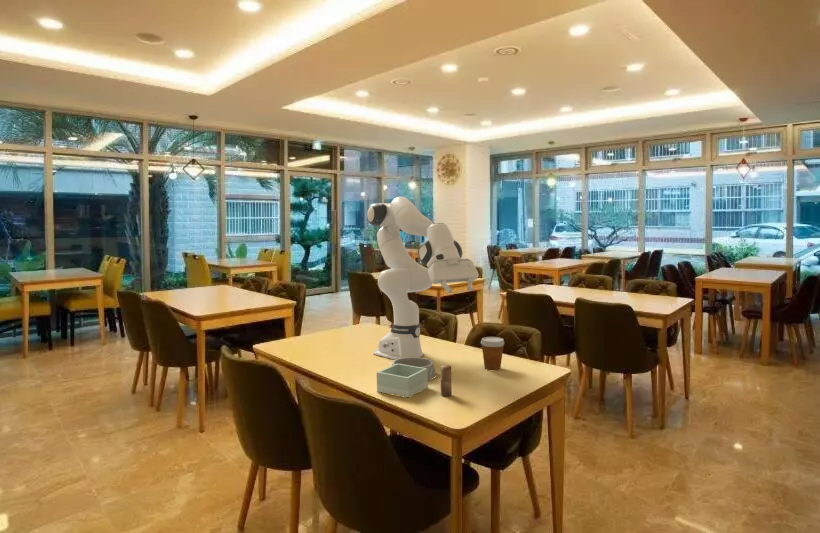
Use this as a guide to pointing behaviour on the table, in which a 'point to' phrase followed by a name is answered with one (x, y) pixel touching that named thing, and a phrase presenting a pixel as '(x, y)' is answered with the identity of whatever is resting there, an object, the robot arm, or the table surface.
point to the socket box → (402, 380)
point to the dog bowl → (418, 364)
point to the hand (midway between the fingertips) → (460, 291)
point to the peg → (446, 381)
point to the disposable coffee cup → (492, 352)
